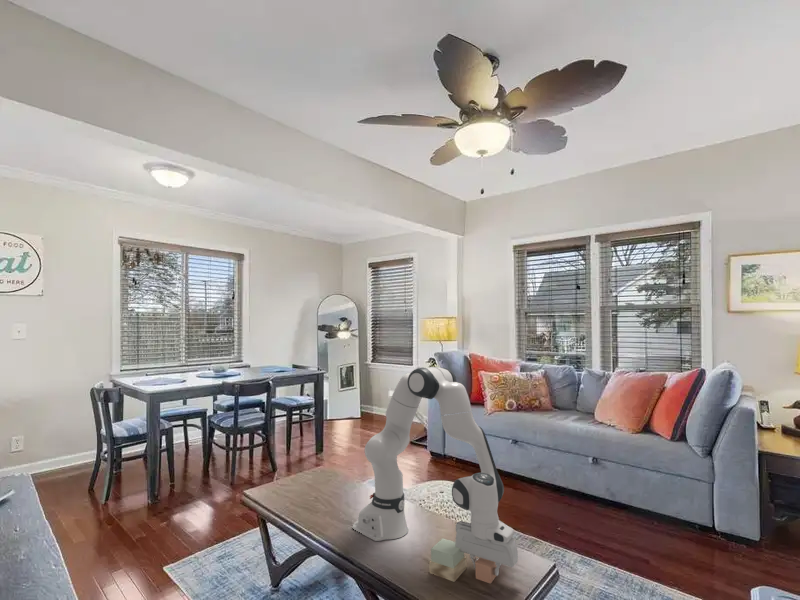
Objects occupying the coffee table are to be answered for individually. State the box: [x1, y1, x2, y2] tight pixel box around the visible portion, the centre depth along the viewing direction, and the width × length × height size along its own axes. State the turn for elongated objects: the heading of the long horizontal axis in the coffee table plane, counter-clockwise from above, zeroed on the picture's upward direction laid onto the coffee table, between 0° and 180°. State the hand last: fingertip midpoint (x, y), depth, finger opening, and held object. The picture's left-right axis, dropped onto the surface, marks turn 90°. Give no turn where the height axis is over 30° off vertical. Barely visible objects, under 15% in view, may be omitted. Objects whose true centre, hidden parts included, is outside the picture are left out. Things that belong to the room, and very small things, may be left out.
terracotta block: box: [474, 557, 497, 585], centre depth 139 cm, size 5×5×5 cm
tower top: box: [430, 537, 465, 568], centre depth 144 cm, size 8×8×4 cm
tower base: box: [428, 555, 468, 582], centre depth 144 cm, size 9×9×4 cm
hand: (486, 571), depth 139 cm, fingers closed on terracotta block, 5 cm apart
